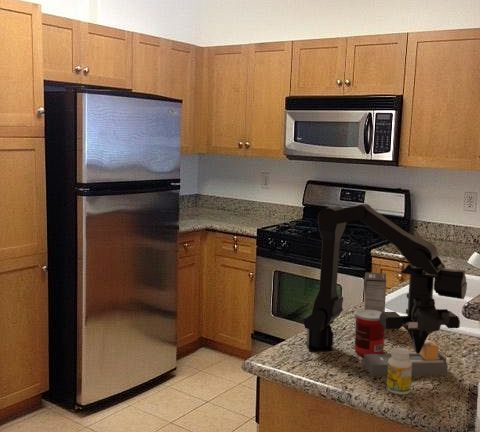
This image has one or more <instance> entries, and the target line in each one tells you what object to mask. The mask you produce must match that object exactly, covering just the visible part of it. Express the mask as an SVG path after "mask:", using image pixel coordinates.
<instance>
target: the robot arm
mask: <svg viewBox="0 0 480 432" xmlns="http://www.w3.org/2000/svg"><path fill="white" fill-rule="evenodd" d="M354 221H360V222H361V223H363V224H364V225H366V227H368V228H369V229H371V230H372V231H373V232H375V233H377V234H378V235H380V236H381V237H382V238H384V239H385V240H386V241H387V242H389V243H391V244H392V245H393V246H395V248H397V249H398V250H399V253H400V254H401V255H402V257H404V259H406V260H407V261H408V262H409V263H408V264H407V265H406V267H404V268H403V269H402V270H401V271H400V272H401V274H404V275H405V274H406V275H409V277H408V278H409V281H408V283H409V284H408V293H406V298H407V300H408V302H407V308H406V309H405V313H406V315H400V314H399V313H398V312H396V311H385V312H382V313H381V314H380V318H379V322H380V323H381V324H382V325H383V326H384V327H385V329H387V330H399V329H401V328H404V329H405V330H406V331H407V333H408V335H409V338H410V341H411V344H412V347H413V349H414V352H416V353H420V351H421V349H422V347H423V345H424V343H425V341H426V340H428V337H429V335H430V334H431V333H433V332H438V331H440V330H441V326H445V327H447V328H446V329H460V328H461V327H460V325H461V320H460V317H459V316H458V315H457V314H455V313H453V312H452V311H450V310H448V309H447V308H443V309H442V308H440V309H439V308H436V302H435V301H436V300H435V299H434V298H433V297H434V295H433V294H434V292H435V294H437V295H438V296H439V297H445V298H451V299H452V298H453V299H459V300H464V299H465V298H466V294H467V287H468V282H467V278H466V270H463V269H450V268H449V269H448V268H446V266H445V265H444V263H443V262H442V261H443V260H441V259H440V257H439V256H438V250H437V249H438V248H437V246H436V244H433V243H432V242H431V241H428V240H426V239H424V238H422V237H420V236H417V235H413V234H411V233H409V232H407V231H405V230H404V229H402V228H401V227H400V226H398V225H397V224H395V223H394V222H392V221H391V220H390V219H388V218H387V217H385V216H384V215H382V214H381V213H380V212H378V211H377V210H375V209H374V208H373V207H371V206H370V205H369V204H367V203H361V204H358V205H352V206H349V207H344V208H343V207H342V206H339V205H334V206H330V207H329V206H328V207H326V208H323V209H321V210H320V211H319V213H318V216H317V223H318V225H317V226H318V231H319V234H320V237H321V239H322V241H321V242H322V243H321V244H322V245H321V257H320V258H321V260H320V274H319V276H320V277H319V289H318V293H317V294H316V297H315V299H314V302H313V304H312V305H313V306H312V308H311V314H310V315H308V316H307V317H306V318H304V320H303V321H302V322H303V326H304V328H305V329H306V340H305V342H304V343H305V345H306V347H307V349H308V351H309V352H324V351H326V352H327V351H328V352H331V351H332V352H333V345H334V331H333V329H332V326H331V325H332V324H333V323H335V322H334V321H335V320H336V319H337V318H338V317H340V315H341V312H343V311H344V309H343V302H344V296H339V293H338V291H337V287H338V274H339V273H338V271H339V270H338V269H339V260H340V259H339V258H340V256H339V255H340V245H341V244H340V241H341V238H342V236H343V234H344V231H345V230H346V226H347V223H349V222H354Z"/></svg>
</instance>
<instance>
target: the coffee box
mask: <svg viewBox="0 0 480 432" xmlns="http://www.w3.org/2000/svg"><path fill="white" fill-rule="evenodd" d="M363 287H364V289H363V290H364V291H363V292H364V293H363V310H376V311H380V312H386V299H387V297H386V295H387V294H386V293H387V274H386V273H385V272H381V273H380V272H365V274H364V286H363Z"/></svg>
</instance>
